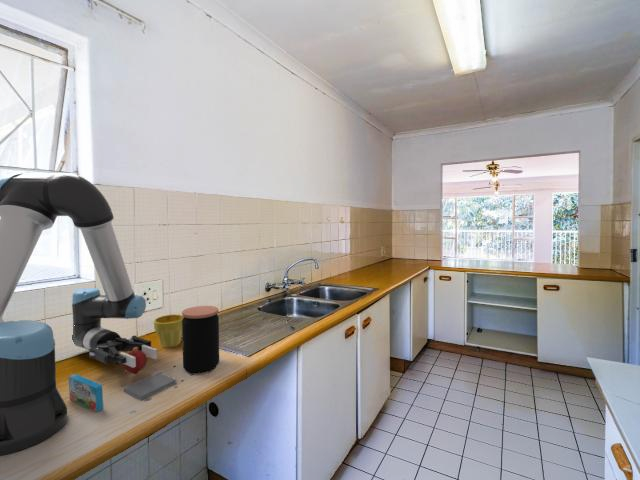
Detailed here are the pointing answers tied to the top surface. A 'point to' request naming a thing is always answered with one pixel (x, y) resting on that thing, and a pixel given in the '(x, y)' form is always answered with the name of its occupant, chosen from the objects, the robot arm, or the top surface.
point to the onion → (137, 361)
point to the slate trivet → (149, 386)
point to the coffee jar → (200, 339)
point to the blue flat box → (86, 392)
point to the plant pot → (169, 330)
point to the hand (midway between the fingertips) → (145, 358)
